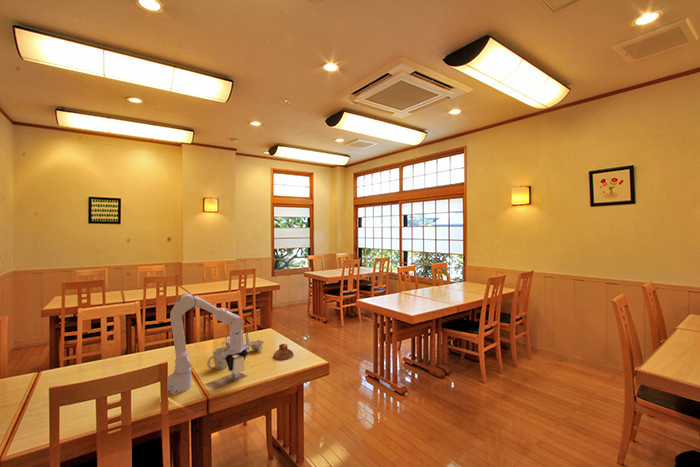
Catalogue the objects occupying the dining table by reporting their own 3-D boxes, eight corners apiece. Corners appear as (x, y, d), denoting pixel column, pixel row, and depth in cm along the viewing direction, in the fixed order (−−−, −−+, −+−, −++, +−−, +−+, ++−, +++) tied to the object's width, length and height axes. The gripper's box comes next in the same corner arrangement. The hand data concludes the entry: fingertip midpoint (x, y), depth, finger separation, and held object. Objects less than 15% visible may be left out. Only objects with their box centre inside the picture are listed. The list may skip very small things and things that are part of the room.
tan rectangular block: (234, 374, 155) (234, 360, 155) (227, 371, 158) (227, 358, 158) (244, 370, 159) (244, 357, 159) (237, 367, 162) (237, 354, 162)
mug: (233, 367, 174) (233, 348, 174) (212, 375, 163) (212, 356, 164) (223, 364, 178) (223, 346, 179) (202, 372, 168) (202, 353, 168)
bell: (295, 358, 188) (295, 345, 188) (275, 361, 182) (275, 349, 183) (290, 352, 198) (290, 340, 198) (271, 355, 193) (271, 343, 193)
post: (235, 379, 157) (235, 369, 157) (232, 378, 158) (232, 367, 158) (239, 377, 159) (239, 367, 159) (236, 376, 160) (236, 366, 160)
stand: (215, 391, 146) (215, 389, 146) (204, 386, 151) (204, 384, 151) (248, 377, 161) (248, 375, 161) (237, 373, 166) (237, 371, 166)
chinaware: (267, 350, 205) (268, 324, 207) (256, 357, 189) (258, 328, 191) (225, 349, 208) (226, 323, 210) (211, 355, 192) (213, 327, 194)
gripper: (227, 346, 151) (227, 375, 150) (253, 338, 162) (253, 365, 162) (219, 343, 155) (219, 371, 154) (244, 335, 167) (244, 362, 166)
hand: (235, 368), depth 159 cm, fingers closed on tan rectangular block, 5 cm apart
